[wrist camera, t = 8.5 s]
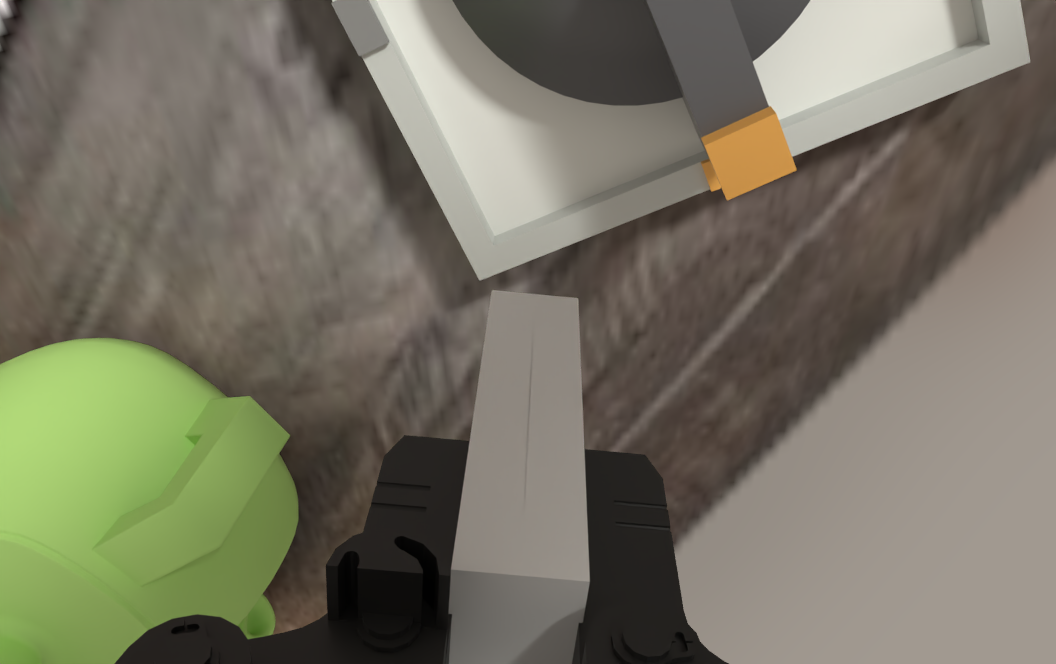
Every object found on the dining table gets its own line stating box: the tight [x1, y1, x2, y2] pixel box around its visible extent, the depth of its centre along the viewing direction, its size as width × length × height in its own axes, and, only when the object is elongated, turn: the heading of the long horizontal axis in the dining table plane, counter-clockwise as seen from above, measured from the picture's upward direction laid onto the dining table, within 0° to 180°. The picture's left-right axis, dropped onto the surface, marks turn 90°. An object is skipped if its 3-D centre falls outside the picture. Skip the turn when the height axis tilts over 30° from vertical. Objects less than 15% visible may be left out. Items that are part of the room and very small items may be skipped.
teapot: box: [0, 338, 299, 664], centre depth 39 cm, size 19×20×14 cm
